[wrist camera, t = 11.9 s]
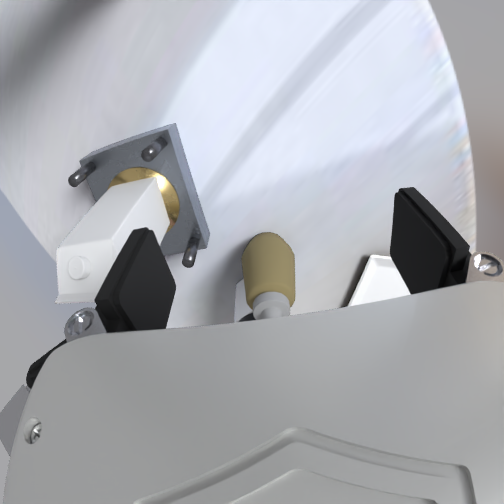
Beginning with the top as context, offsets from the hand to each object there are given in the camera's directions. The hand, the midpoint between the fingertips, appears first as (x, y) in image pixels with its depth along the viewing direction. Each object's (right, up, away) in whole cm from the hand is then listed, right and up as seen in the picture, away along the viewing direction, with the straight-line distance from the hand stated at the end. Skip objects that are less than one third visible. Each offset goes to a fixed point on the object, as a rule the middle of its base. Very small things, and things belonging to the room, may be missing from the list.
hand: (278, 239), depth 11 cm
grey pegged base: (-16, +8, +31) cm, 36 cm away
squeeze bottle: (+1, 0, +37) cm, 37 cm away
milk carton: (-16, +6, +28) cm, 33 cm away
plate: (+27, -8, +44) cm, 52 cm away
